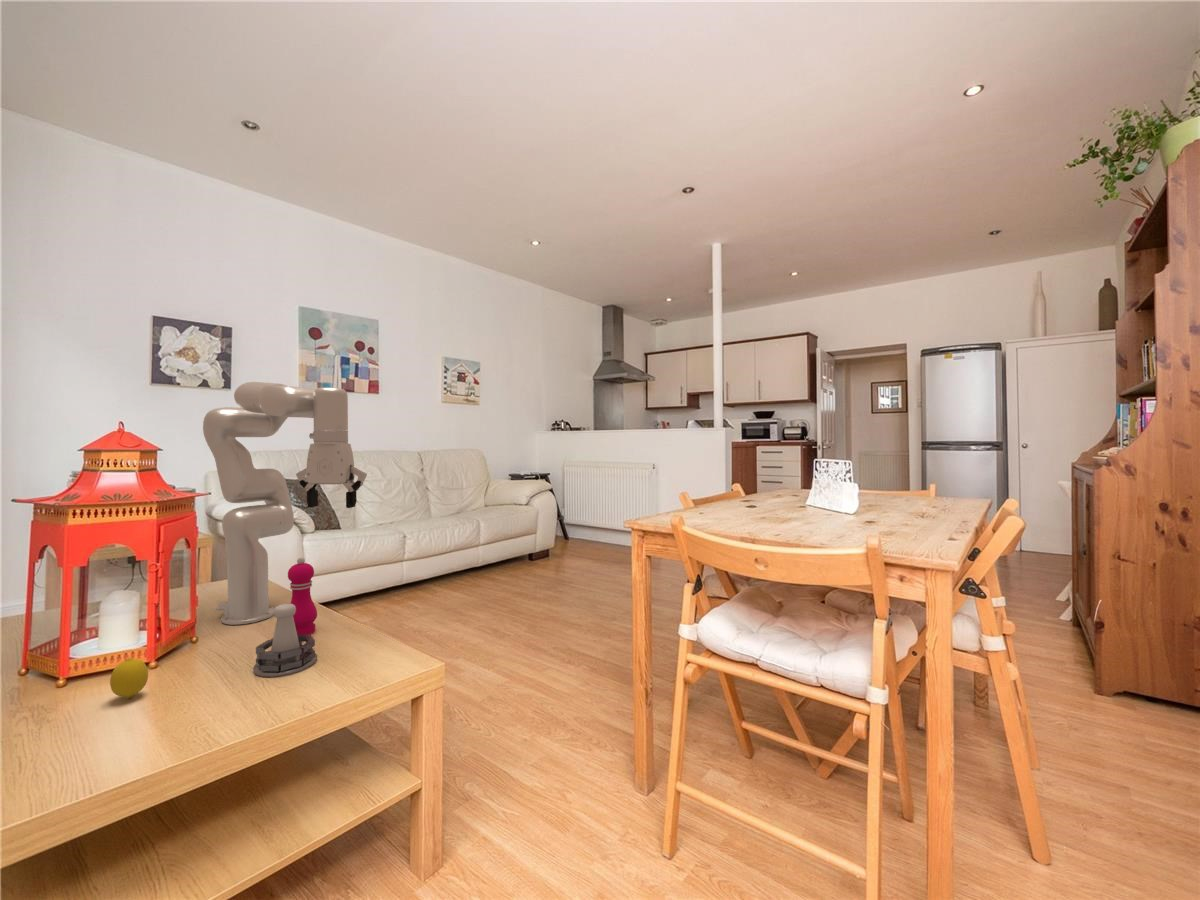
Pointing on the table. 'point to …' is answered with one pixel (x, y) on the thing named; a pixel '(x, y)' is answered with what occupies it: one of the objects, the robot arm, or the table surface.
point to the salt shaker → (285, 631)
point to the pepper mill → (302, 596)
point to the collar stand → (269, 668)
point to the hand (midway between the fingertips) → (331, 507)
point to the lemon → (129, 677)
